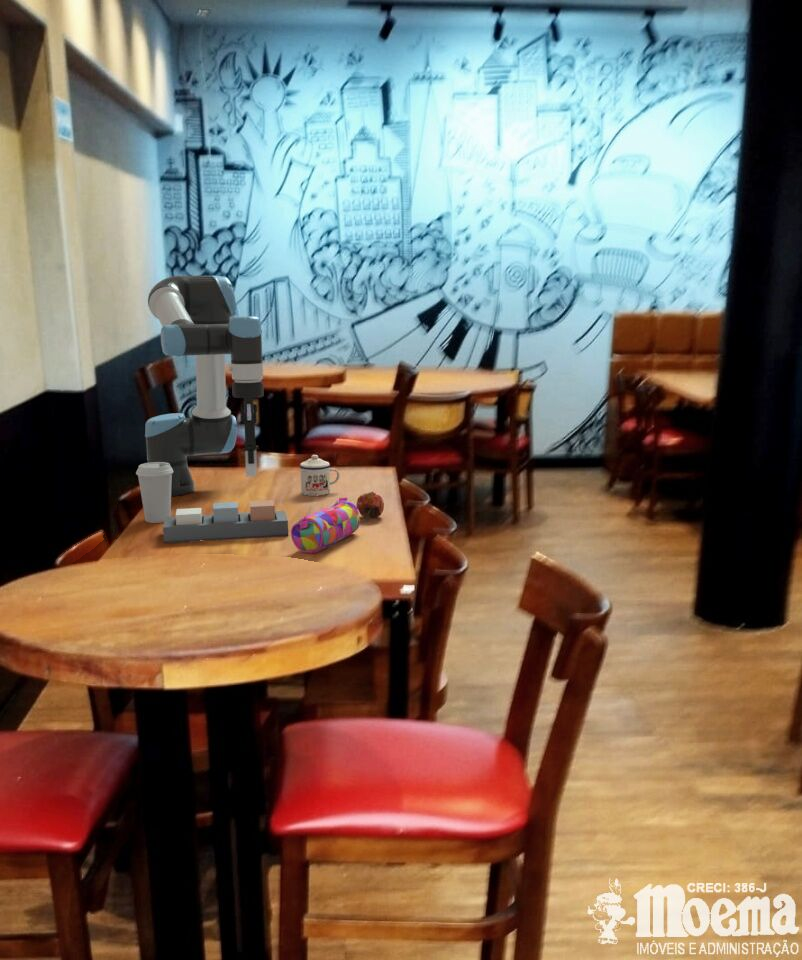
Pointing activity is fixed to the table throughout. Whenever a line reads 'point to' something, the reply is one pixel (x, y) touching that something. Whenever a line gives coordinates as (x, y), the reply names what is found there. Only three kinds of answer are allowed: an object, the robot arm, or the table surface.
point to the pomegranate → (370, 505)
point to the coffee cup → (155, 490)
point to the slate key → (225, 512)
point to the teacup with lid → (316, 476)
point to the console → (225, 529)
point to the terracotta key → (262, 510)
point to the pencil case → (325, 526)
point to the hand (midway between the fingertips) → (251, 475)
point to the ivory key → (188, 516)
